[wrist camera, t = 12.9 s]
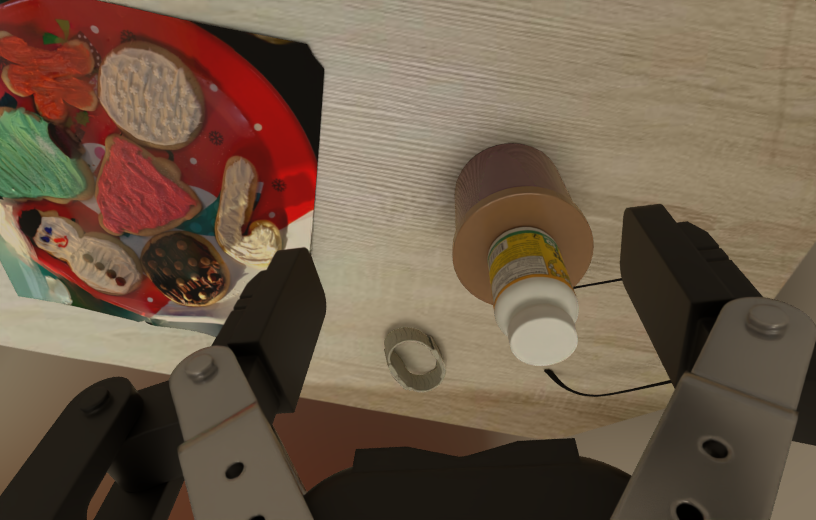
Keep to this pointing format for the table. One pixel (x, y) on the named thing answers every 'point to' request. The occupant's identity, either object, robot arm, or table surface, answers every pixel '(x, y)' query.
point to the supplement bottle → (533, 296)
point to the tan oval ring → (398, 368)
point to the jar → (514, 212)
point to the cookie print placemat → (150, 159)
